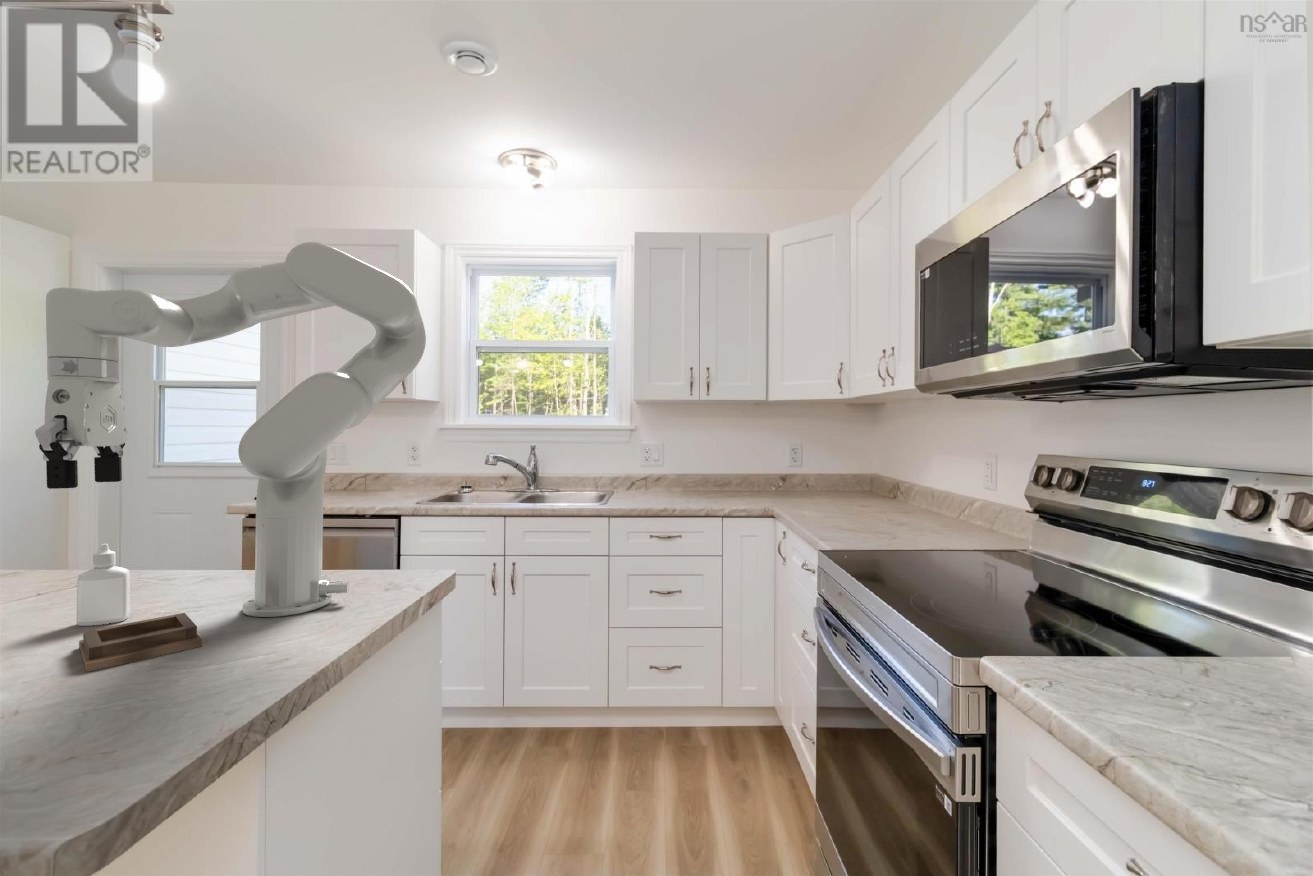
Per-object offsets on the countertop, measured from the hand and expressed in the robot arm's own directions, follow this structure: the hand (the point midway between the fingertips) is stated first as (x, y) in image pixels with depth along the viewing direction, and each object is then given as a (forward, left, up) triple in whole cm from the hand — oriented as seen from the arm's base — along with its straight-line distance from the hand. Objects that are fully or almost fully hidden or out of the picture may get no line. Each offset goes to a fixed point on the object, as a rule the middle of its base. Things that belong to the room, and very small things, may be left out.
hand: (86, 484), depth 83 cm
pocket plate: (-13, +13, -21) cm, 28 cm away
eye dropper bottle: (-2, 0, -21) cm, 21 cm away
